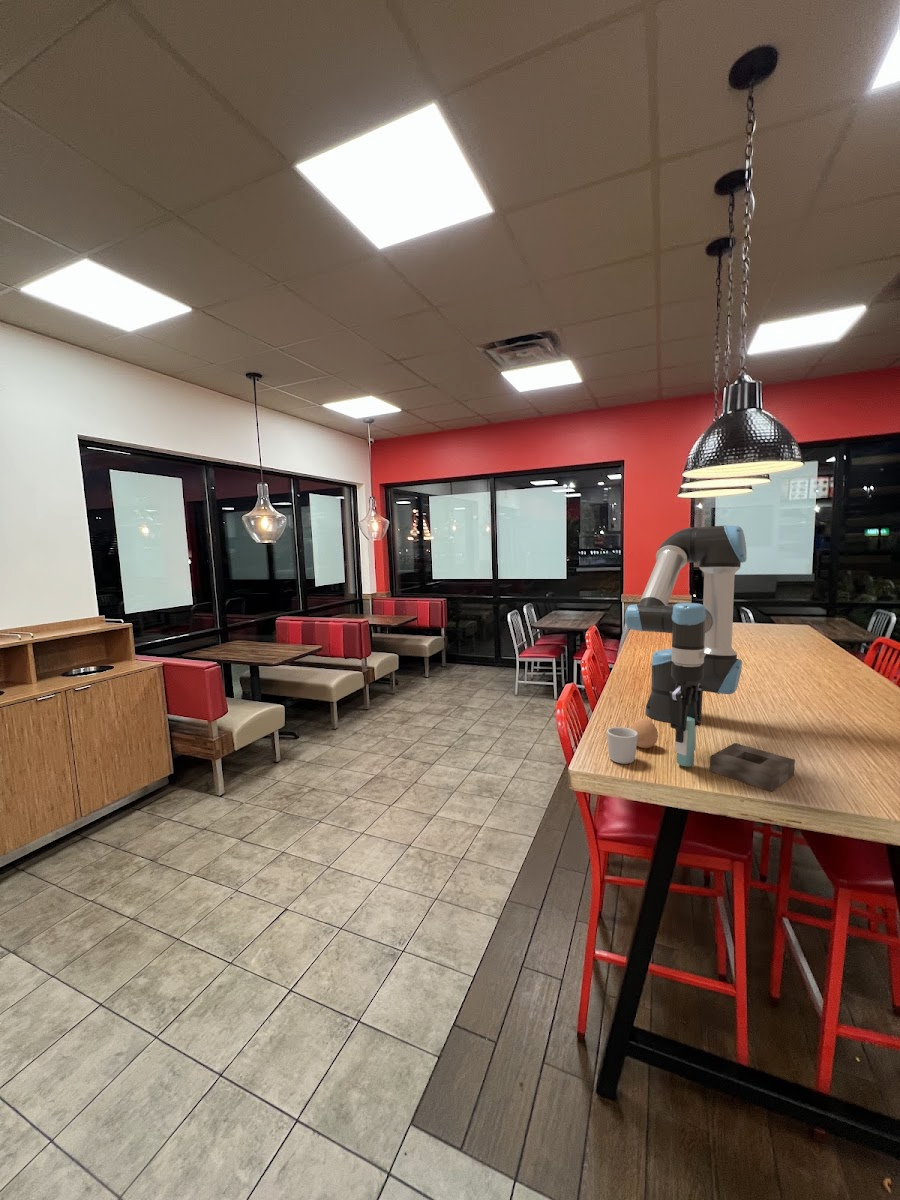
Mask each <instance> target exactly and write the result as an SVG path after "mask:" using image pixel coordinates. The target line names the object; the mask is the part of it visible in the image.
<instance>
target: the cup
mask: <svg viewBox="0 0 900 1200" xmlns="http://www.w3.org/2000/svg"><path fill="white" fill-rule="evenodd" d="M606 737H607V738H606V739H607V748H608V756H609V758H610V760H611V761H613V762H614V763H618V764H623V765H627V764H632V763H633V762H634V761H635V758H636V756H637V755H636V753H637V747H638V746H637V740H638V733H637V732H636V731H635V730H632V729H631V728H628V727H626V726H625V727H623V726H613V727H610V728H607V730H606Z"/></svg>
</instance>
